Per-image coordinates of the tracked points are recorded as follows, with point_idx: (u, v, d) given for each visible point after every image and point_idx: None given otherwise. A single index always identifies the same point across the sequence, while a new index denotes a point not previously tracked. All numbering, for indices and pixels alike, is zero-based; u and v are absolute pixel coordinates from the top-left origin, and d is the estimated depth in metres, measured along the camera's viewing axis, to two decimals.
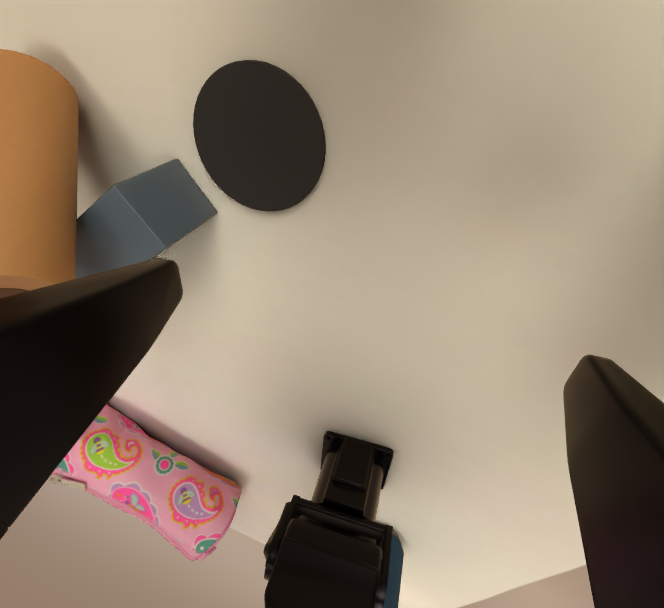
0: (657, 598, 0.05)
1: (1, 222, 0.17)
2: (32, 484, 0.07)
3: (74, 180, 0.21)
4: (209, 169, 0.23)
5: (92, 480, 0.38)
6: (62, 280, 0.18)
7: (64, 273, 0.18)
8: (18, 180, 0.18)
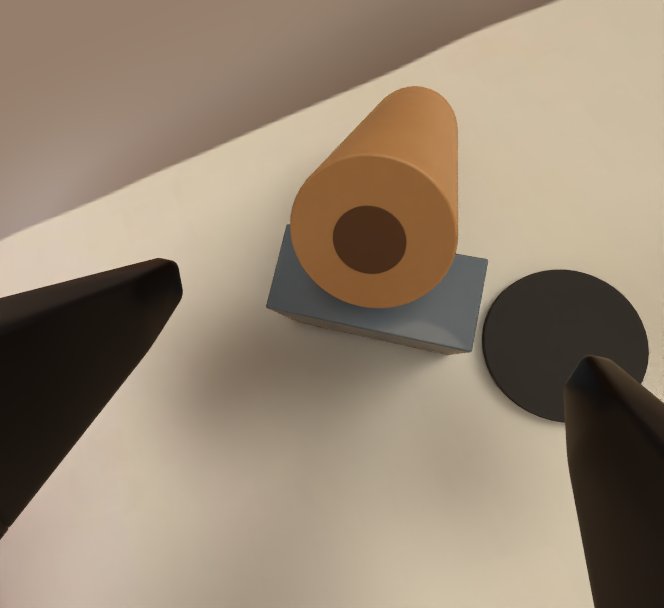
0: (657, 598, 0.05)
1: (455, 183, 0.12)
2: (32, 484, 0.07)
3: None
4: (491, 320, 0.20)
5: None
6: (434, 284, 0.12)
7: None
8: (457, 175, 0.14)
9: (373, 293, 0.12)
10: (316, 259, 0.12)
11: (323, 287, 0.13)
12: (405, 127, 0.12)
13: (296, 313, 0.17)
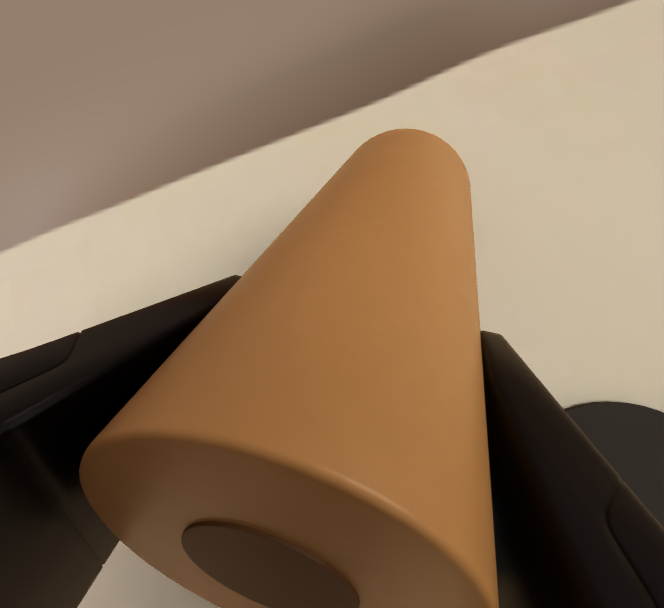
0: None
1: (482, 391, 0.05)
2: None
3: None
4: None
5: None
6: None
7: None
8: None
9: None
10: (164, 559, 0.05)
11: None
12: (373, 260, 0.05)
13: None
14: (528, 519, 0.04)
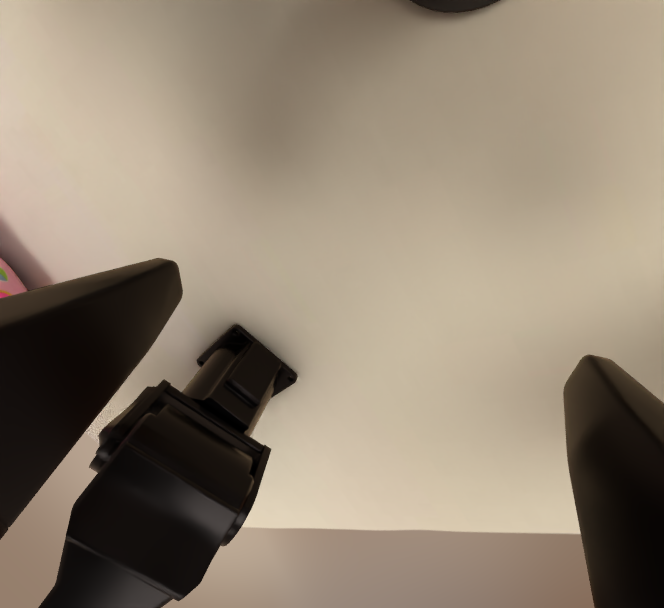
0: (657, 598, 0.05)
1: None
2: (32, 484, 0.07)
3: None
4: None
5: None
6: None
7: None
8: None
9: None
10: None
11: None
12: None
13: None
14: None
